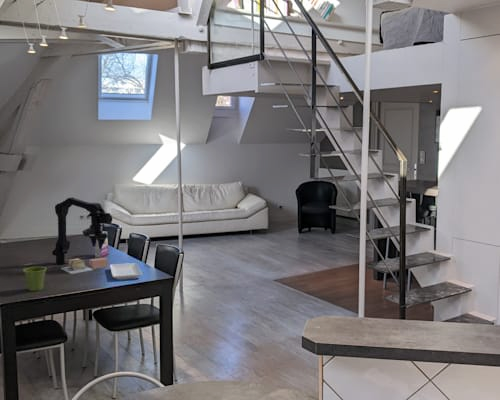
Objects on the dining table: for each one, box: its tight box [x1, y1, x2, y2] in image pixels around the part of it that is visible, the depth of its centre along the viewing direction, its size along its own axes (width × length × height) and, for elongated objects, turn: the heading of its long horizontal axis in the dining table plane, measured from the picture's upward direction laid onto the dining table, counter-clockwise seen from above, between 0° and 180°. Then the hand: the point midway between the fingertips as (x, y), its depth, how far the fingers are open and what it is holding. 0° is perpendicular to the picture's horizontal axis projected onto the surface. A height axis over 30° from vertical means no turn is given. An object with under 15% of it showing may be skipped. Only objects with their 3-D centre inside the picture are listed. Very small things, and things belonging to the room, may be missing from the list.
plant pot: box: [22, 266, 48, 292], centre depth 298 cm, size 12×12×11 cm
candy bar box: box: [94, 230, 109, 259], centre depth 379 cm, size 11×5×16 cm, turn 168°
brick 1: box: [68, 257, 86, 271], centre depth 341 cm, size 10×6×5 cm, turn 38°
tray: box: [109, 262, 143, 281], centre depth 331 cm, size 17×32×4 cm, turn 17°
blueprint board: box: [60, 265, 94, 275], centre depth 342 cm, size 16×14×1 cm
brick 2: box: [88, 256, 109, 270], centre depth 349 cm, size 10×6×5 cm, turn 126°
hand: (97, 247), depth 348 cm, fingers open, 9 cm apart
